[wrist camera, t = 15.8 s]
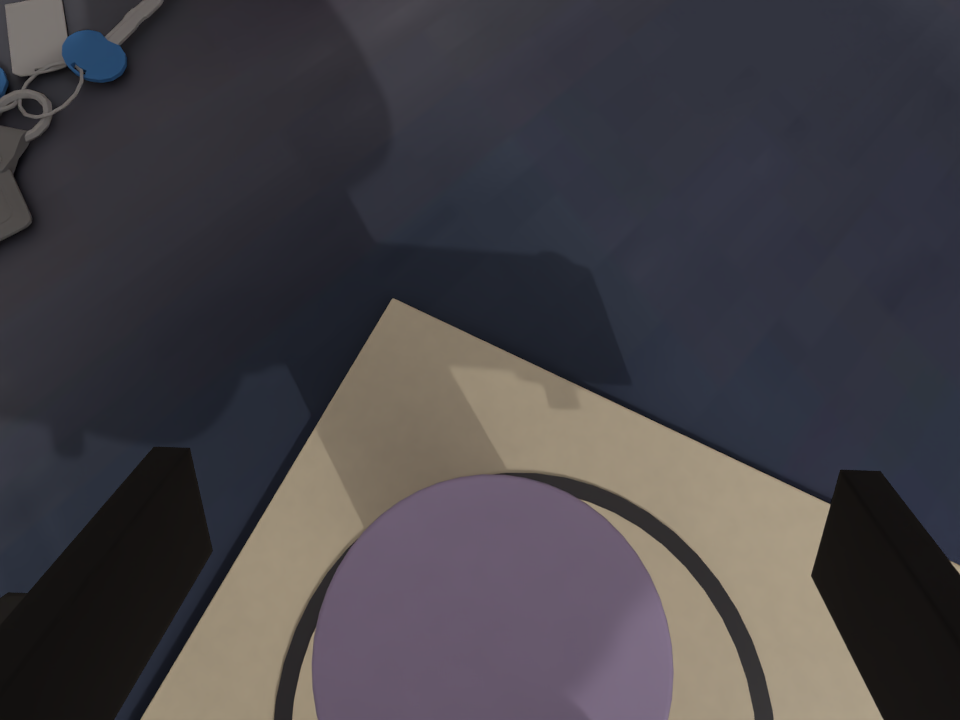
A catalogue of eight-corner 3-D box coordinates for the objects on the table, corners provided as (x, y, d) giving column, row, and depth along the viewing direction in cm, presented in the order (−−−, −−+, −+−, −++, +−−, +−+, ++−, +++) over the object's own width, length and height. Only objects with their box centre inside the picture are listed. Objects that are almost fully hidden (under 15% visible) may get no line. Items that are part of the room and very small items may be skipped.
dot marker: (610, 585, 19) (730, 573, 9) (539, 745, 18) (580, 956, 7) (467, 510, 20) (419, 417, 9) (391, 659, 19) (239, 739, 8)
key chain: (-2, 289, 23) (-20, 278, 22) (-195, 215, 24) (-218, 203, 24) (198, -19, 27) (188, -37, 26) (23, -69, 28) (9, -87, 28)
